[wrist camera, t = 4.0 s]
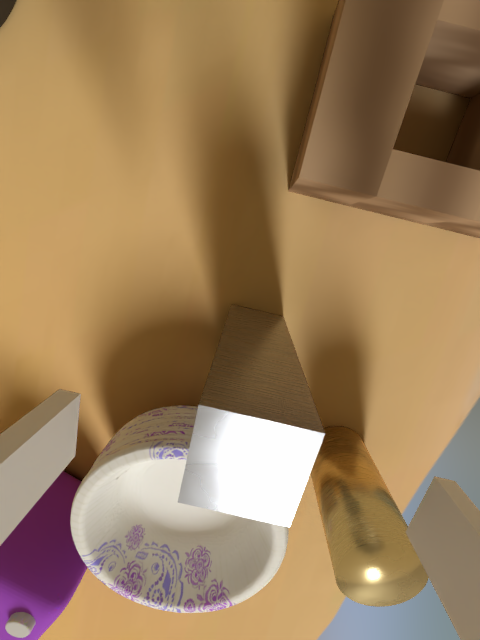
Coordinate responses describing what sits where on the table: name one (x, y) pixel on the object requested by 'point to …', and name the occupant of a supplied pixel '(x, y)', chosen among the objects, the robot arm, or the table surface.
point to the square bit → (253, 424)
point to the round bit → (363, 524)
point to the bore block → (394, 112)
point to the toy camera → (40, 564)
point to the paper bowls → (166, 525)
